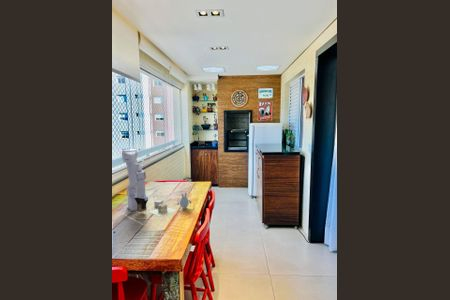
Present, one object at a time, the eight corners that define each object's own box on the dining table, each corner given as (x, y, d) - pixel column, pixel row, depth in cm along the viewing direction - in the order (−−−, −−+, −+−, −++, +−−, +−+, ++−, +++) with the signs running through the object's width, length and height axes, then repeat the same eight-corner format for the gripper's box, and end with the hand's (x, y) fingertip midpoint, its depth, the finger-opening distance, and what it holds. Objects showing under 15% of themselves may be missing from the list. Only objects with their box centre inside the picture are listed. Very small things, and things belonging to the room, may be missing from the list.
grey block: (154, 207, 177) (154, 201, 176) (158, 205, 181) (158, 199, 180) (159, 208, 175) (159, 202, 174) (163, 206, 179) (163, 200, 178)
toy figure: (190, 206, 177) (190, 191, 176) (192, 209, 171) (192, 193, 170) (176, 209, 173) (175, 193, 171) (178, 211, 167) (177, 195, 166)
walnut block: (137, 210, 163) (136, 204, 162) (143, 208, 166) (142, 202, 166) (140, 212, 160) (140, 205, 159) (146, 210, 163) (146, 203, 163)
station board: (148, 212, 167) (148, 211, 167) (165, 206, 178) (165, 206, 177) (159, 217, 158) (159, 216, 158) (177, 211, 168) (176, 210, 168)
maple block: (158, 211, 167) (158, 205, 167) (163, 209, 171) (163, 203, 170) (161, 212, 164) (161, 206, 164) (167, 210, 168) (167, 204, 167)
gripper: (129, 188, 163) (131, 207, 165) (140, 192, 153) (141, 212, 155) (139, 186, 168) (140, 204, 170) (150, 190, 159) (151, 209, 160)
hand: (141, 208), depth 163 cm, fingers closed on walnut block, 4 cm apart
